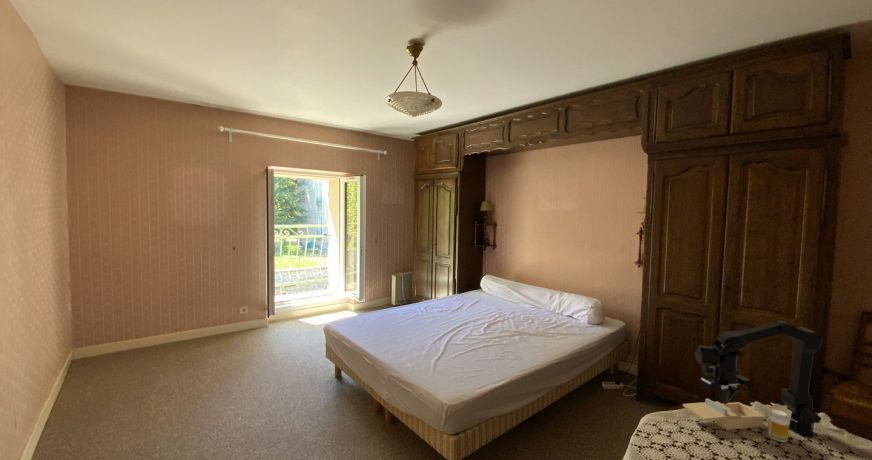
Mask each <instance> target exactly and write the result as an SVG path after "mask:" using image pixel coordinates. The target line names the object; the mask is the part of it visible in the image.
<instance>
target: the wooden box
mask: <svg viewBox="0 0 872 460" xmlns="http://www.w3.org/2000/svg"><path fill="white" fill-rule="evenodd" d="M722 404H723V405H725V406H726V407H728V408H730V409H732V410H733V411H735V412H737V413H738V414H740V415H742V416H741V418H729V419H717V420H713V421H715V422H716V423H717V424H716V423H715V422H714V423H715V424H716V425H718V424H719V425H720V426H719V425H718V426H719V427H721V426H722V427H723V430H725V429H726V430H725V431H727V430H729V431H736V430H735V429H740V430H748V429H747V428H752V429H757V428H756V427H763V428H764V423H765V422H764V421H765V416H764V415H762V414H761V413H759V412H757V411H755V410H753V409H752V408H750V407H748V406H746V405H744V404H743V403H741V402H740V401H738V402H736V401H735V402H728V403H727V404H724V403H723V402H722ZM713 421H712V422H713ZM722 427H721V428H722Z"/></svg>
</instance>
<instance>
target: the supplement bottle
mask: <svg viewBox="0 0 872 460" xmlns="http://www.w3.org/2000/svg"><path fill="white" fill-rule="evenodd" d="M787 418H788V414H787V413H786V412H784V411H782V410H779V409H772V410H771V415H769V416H768V427H767V434H768V436H769V437H770V438H771V439H773V440H774V441H776V442H780V443H781V442H783V443H787V442H788V441H789V430H790V429H789V425H790V420H788V419H787Z"/></svg>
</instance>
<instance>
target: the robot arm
mask: <svg viewBox="0 0 872 460" xmlns="http://www.w3.org/2000/svg"><path fill="white" fill-rule="evenodd" d="M781 335H788V336H790V341H791V344H792V347H793V349H794V355H793V363H792V373H791V379H790V384H789V387H787V388H783V387H782V389H781V395H780V398H781V400H782V403H783V404H784V405H785V406H786V408H787V410H789V411H790V412H791V414H790V419H789V430H790V429H791V430H790V431H792V432H794V433H796V434H798V435H799V436H801V437H803V438H808V437H818V436H819V434H818V433H817V432H815V431H814V430H815V429H814V428H815V426H814V425H815V423H816V424H819V423H820V421H822V417H821V416H820V415H819V414H818V413H816V412H815V411H814V406H813V405H814V403H813V402H814V401H813V399H812V398H811V395H810V392H809V390H810V383H811V375H812V369H813V368H812V367H813V360H814V355H815V354H817V352H819V351H820V349H821V348H822V347H821V346H822V344H823V337H822V336H821V335H820V334H819V333H817V332H815V331H813V330H810V329H808V328H806V327H803V326H797V327H796V326H793V325H791V324H789V323H788V322H785V321H783V320H773V322H770V323H766V324H761V325H759V326H755V327H754V326H753V327H751V328H747V329H744V330H739V331H738V330H729V331H728V330H726V331H721V332H719V333H718V335H717V337H716V338H715V339H714V340H713V341H712V342H711V343H710V344H709V346H705V345H698V348H696V349H695V351H694V357H695V361H696V362H697V363H698V364H701V367H700V371H701V373H702V374H705V376H706V377H705V376H704V377H700V378H699V382H698V383H699V385H700V386H702V387H704V388H706V389H707V390H709V391H711V392H718V393H719V396H720V399H721V402H722V404H723V403H724V404H727V403H730V401H731V400H733V398H734V396H736V395H737V394H738V392H740V391H741V388H739V387H738V385H744V387H745V388H746V389H747V390H748V389H754V382H753V381H752V379H750V378H748V377H746V376H743V375H741V374H740V370H739V369H737V368H738V366H737V365H738V357H742V358H743V357H745V354H743V353H742V351H741V350H742V349H745V347H747V346H748V345H749V344H751V343H755V342H759V341H760V340H764V339H771V338H772V337H776V336H781ZM710 365H711V366H710ZM712 365H714V366H712ZM708 376H709V377H708ZM710 376H712V377H710ZM713 378H714V379H713Z"/></svg>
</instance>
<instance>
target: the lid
mask: <svg viewBox="0 0 872 460" xmlns="http://www.w3.org/2000/svg"><path fill="white" fill-rule="evenodd" d="M682 407H684V408H685V409H686V410H688V411H689V412H691V413H692V414H693V415H695V416H697V417H698V418H699V419H701V420H702V421H712V420H717V419H729V418H741V416H742V415H740V414H738V413H737V412H735V411H733V410H732V409H730V408H728V407H726V406H725V405H723V403H721V402H719V401H713V400H711V399H710V398H705V401H704V402H692V403H691V402H690V403H682Z"/></svg>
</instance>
